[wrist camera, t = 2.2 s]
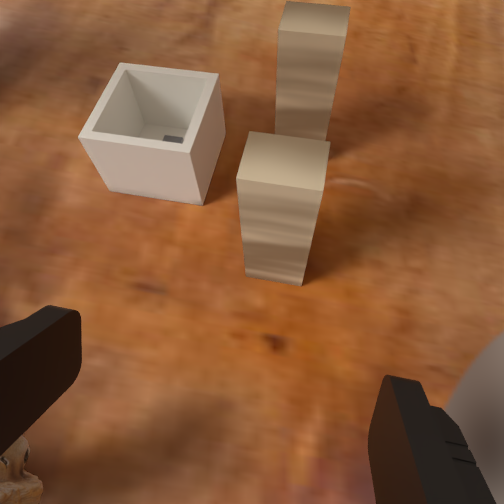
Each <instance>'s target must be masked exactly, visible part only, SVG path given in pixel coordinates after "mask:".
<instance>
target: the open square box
mask: <svg viewBox="0 0 504 504" xmlns="http://www.w3.org/2000/svg"><path fill="white" fill-rule="evenodd" d="M225 135H226V129H225V121H224V112H223V104H222V95H221V87H220V79H219V74H217V73H208V72H199V71H190V70H182V69H173V68H164V67H155V66H147V65H138V64H129V63H119V65H118V67H117V69H116V70H115V72H114V74H113V76H112V77H111V79H110V81H109V83H108V85H107V86H106V88H105V90H104V92H103V94H102V95H101V97H100V99H99V101H98V102H97V104H96V106H95V108H94V110H93V111H92V113H91V115H90V117H89V118H88V120H87V122H86V124H85V126H84V127H83V129H82V131H81V133H80V134H79V136H78V138H79V140H80V142H81V143H82V145H83V147H84V148H85V150H86V152H87V153H88V155H89V157H90V158H91V160H92V162H93V164H94V165H95V167H96V169H97V170H98V172H99V174H100V175H101V177H102V179H103V180H104V182H105V184H106V185H107V187H108V189H109V191H113V192H119V193H125V194H132V195H138V196H144V197H151V198H157V199H163V200H170V201H176V202H182V203H188V204H195V205H201V206H203V203H204V200H205V197H206V194H207V191H208V188H209V185H210V182H211V179H212V175H213V172H214V169H215V166H216V163H217V160H218V157H219V154H220V151H221V147H222V144H223V141H224V138H225Z"/></svg>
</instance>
